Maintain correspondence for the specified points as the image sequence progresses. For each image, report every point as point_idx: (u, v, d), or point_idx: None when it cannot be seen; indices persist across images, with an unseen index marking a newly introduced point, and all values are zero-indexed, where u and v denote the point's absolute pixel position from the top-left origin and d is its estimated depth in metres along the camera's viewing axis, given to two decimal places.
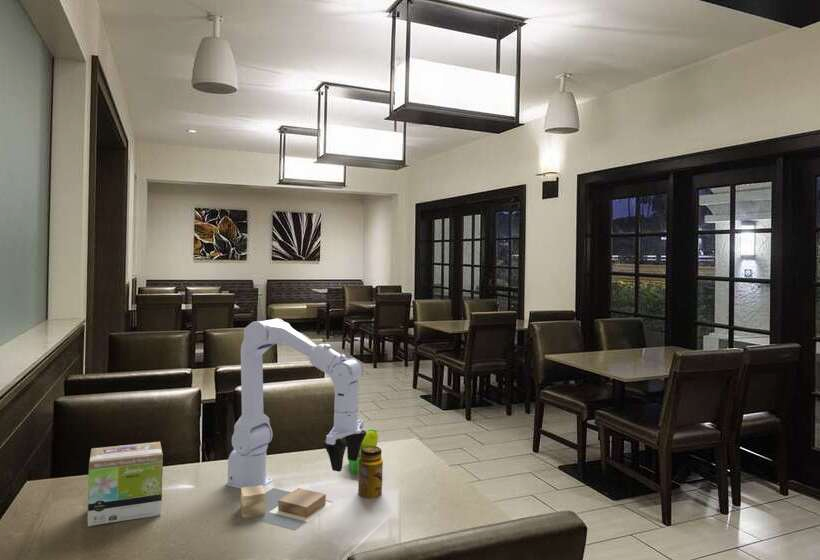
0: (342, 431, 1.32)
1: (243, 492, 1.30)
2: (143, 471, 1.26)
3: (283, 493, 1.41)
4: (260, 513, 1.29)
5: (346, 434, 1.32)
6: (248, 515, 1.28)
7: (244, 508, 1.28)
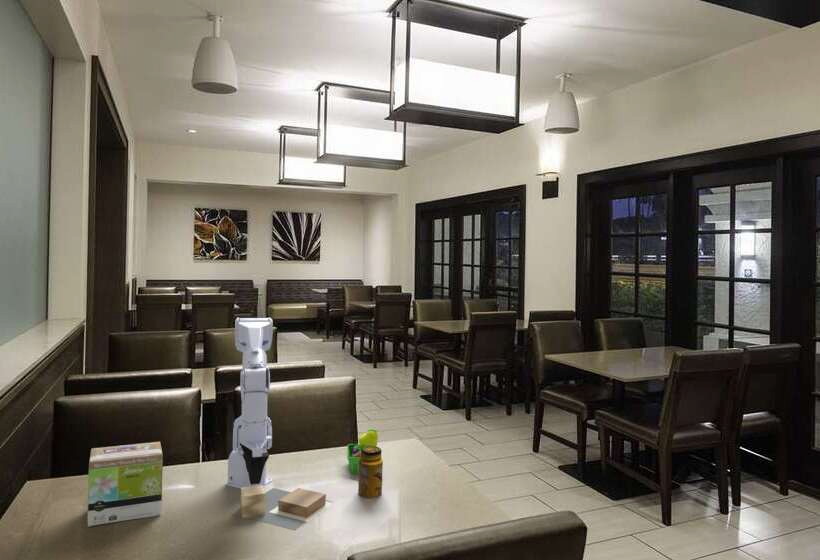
0: (258, 441, 1.28)
1: (243, 492, 1.30)
2: (143, 471, 1.26)
3: (283, 493, 1.41)
4: (260, 513, 1.29)
5: (264, 443, 1.28)
6: (248, 515, 1.28)
7: (244, 508, 1.28)
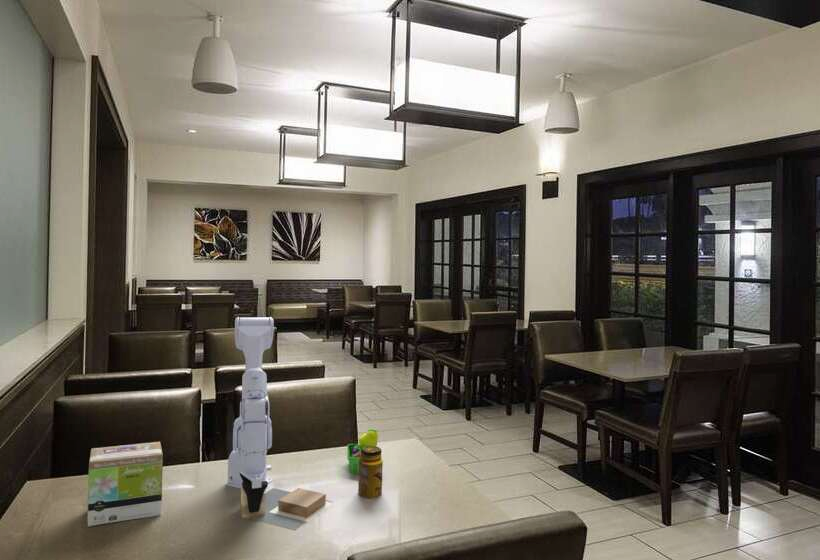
0: (258, 472, 1.28)
1: (243, 492, 1.30)
2: (143, 471, 1.26)
3: (283, 493, 1.41)
4: (260, 513, 1.29)
5: (264, 473, 1.28)
6: (248, 515, 1.28)
7: (244, 508, 1.28)
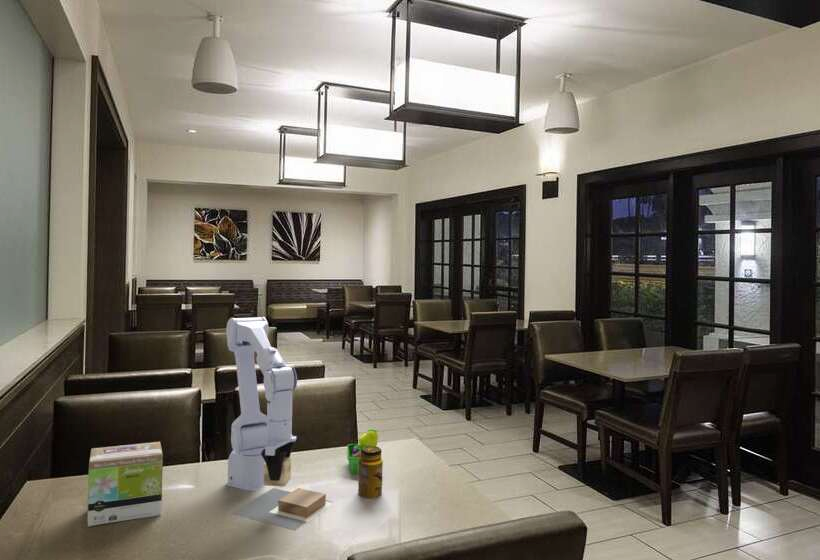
0: (278, 440, 1.29)
1: None
2: (143, 471, 1.26)
3: (283, 493, 1.41)
4: (280, 484, 1.29)
5: (283, 443, 1.28)
6: (269, 484, 1.30)
7: (265, 476, 1.30)
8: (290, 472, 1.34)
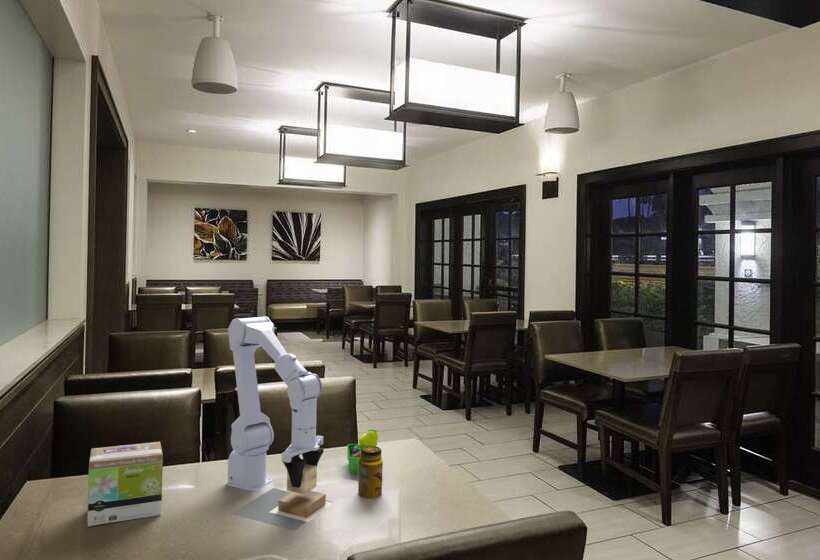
0: (299, 448, 1.30)
1: None
2: (143, 471, 1.26)
3: (283, 493, 1.41)
4: (301, 491, 1.31)
5: (303, 451, 1.29)
6: (291, 490, 1.32)
7: (288, 481, 1.32)
8: (315, 480, 1.35)
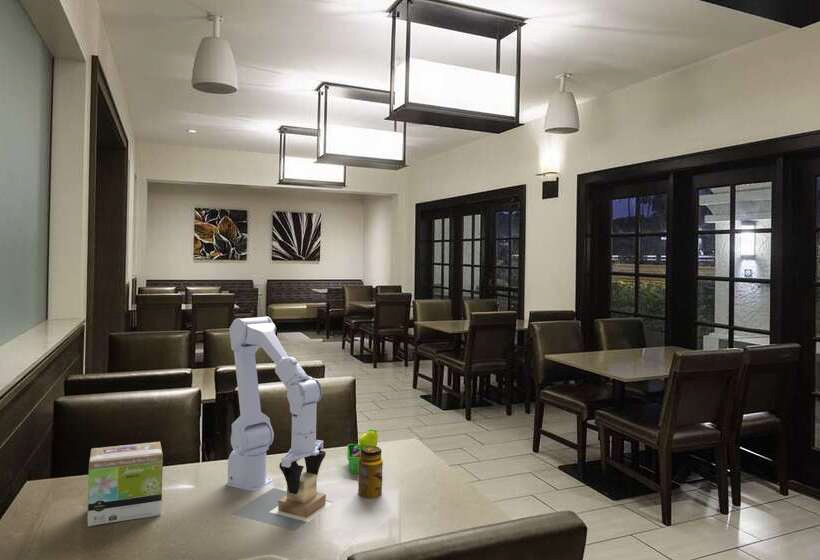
0: (299, 453, 1.30)
1: None
2: (143, 471, 1.26)
3: (283, 493, 1.41)
4: (300, 500, 1.31)
5: (302, 456, 1.29)
6: (291, 498, 1.32)
7: None
8: (315, 489, 1.35)
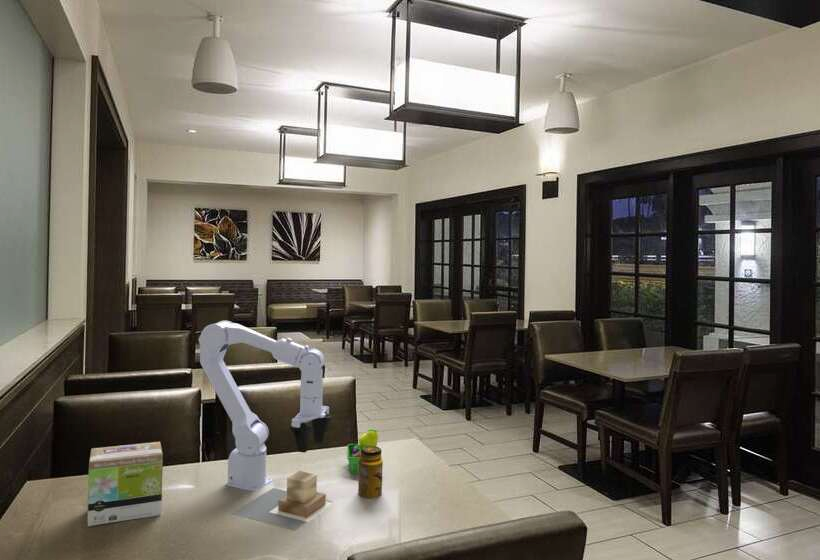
0: (307, 415, 1.43)
1: (293, 475, 1.34)
2: (143, 471, 1.26)
3: (283, 493, 1.41)
4: (300, 500, 1.31)
5: (310, 418, 1.43)
6: (291, 498, 1.32)
7: (288, 490, 1.32)
8: (315, 489, 1.35)
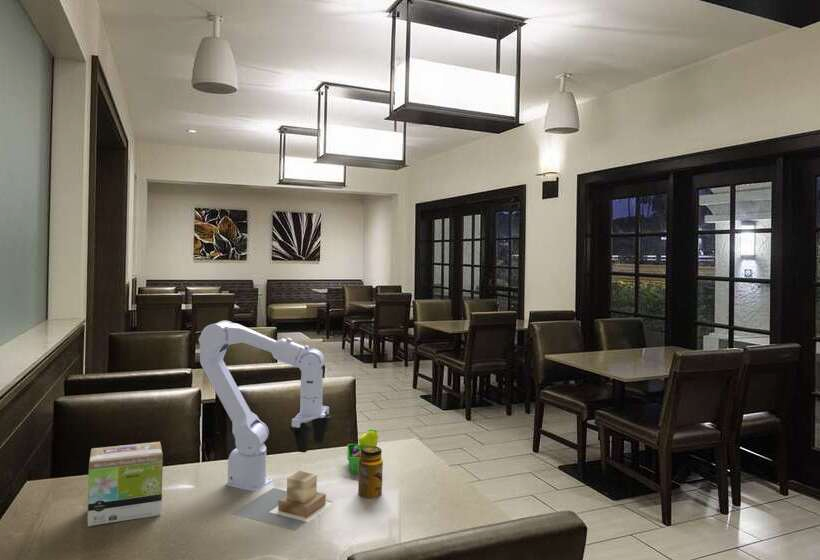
0: (307, 415, 1.43)
1: (293, 475, 1.34)
2: (143, 471, 1.26)
3: (283, 493, 1.41)
4: (300, 500, 1.31)
5: (311, 418, 1.43)
6: (291, 498, 1.32)
7: (288, 490, 1.32)
8: (315, 489, 1.35)
